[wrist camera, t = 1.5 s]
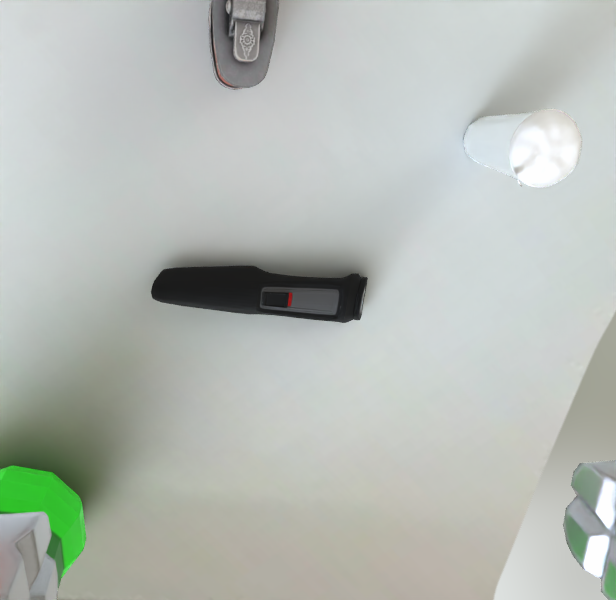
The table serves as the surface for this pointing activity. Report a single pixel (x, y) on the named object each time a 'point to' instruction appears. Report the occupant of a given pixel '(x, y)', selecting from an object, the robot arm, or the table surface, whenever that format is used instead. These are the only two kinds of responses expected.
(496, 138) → the milkshake
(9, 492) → the plastic bottle
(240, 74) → the lighter
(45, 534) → the robot arm
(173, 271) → the electric trimmer
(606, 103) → the table surface
